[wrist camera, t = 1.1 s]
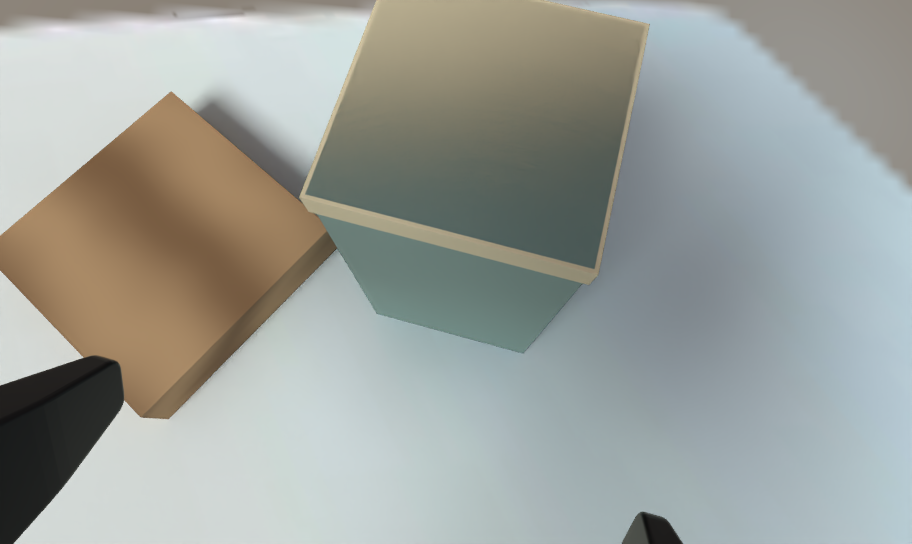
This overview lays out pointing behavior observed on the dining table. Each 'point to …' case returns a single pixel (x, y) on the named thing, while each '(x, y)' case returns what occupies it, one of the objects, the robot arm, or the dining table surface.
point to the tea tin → (477, 160)
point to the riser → (164, 254)
